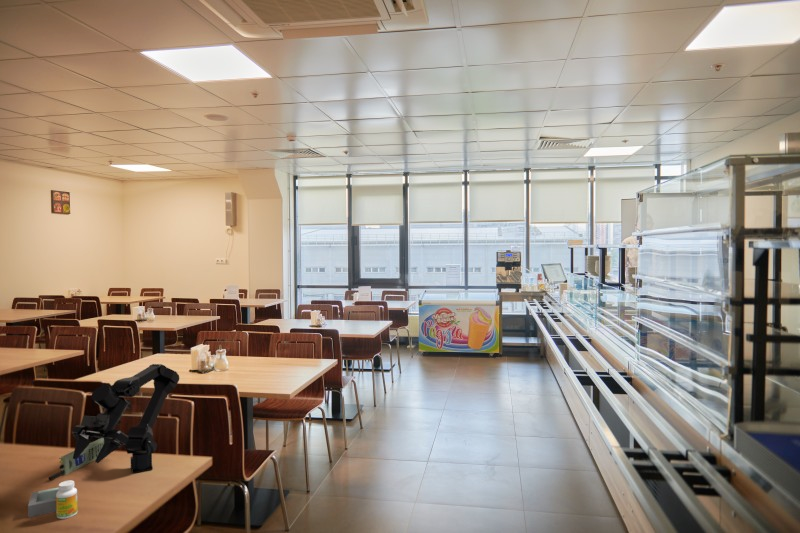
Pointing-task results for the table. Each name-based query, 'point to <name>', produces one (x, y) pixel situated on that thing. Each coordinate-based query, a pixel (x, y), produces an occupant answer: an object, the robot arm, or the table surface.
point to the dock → (42, 502)
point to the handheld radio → (79, 458)
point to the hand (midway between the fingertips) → (85, 460)
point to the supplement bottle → (66, 500)
